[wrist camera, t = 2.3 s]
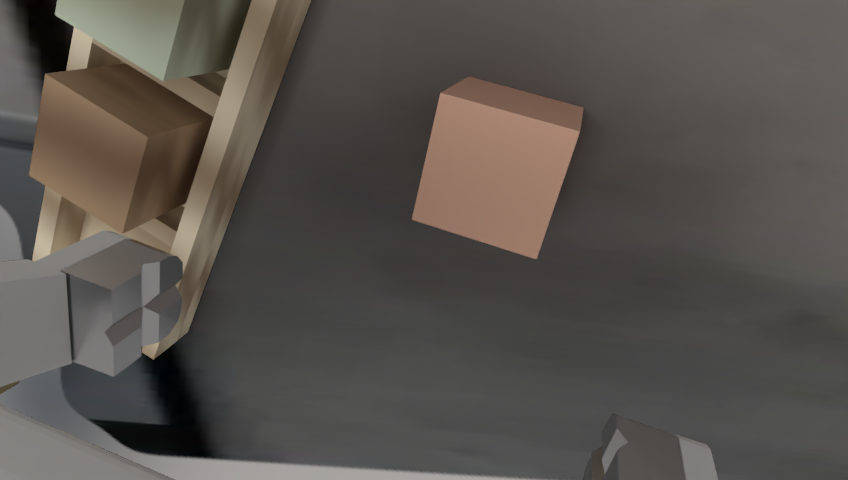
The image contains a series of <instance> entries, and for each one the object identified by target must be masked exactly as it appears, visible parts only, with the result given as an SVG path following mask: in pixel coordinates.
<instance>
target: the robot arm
mask: <svg viewBox="0 0 848 480" xmlns="http://www.w3.org/2000/svg"><path fill="white" fill-rule="evenodd" d="M182 278H183V262H182V261H181V260H180V259H179V257H178V256H176V255H173V254H171V253H168V252H166V251H163V250H160V249H158V248H155V247H153V246H150V245H147V244H145V243H142V242H140V241H137V240H135V239H131V238H129V237H126V236H124V235H121V234H118V233H115V232H112V231H101V232H99V233H96V234H94V235H92V236H90V237H88V238H85V239H83V240H81V241H79V242H77V243H74V244H72V245H70V246H68V247H65V248H63V249H61V250H59V251H57V252H54V253H52V254H50V255H48V256H46V257H43V258H41V259H39V260H37V261H31V260H28V259H23V260H13V261H3V262H0V387H2V386H5V385H8V384H11V383H14V382H17V381H20V380H23V379H26V378H29V377H32V376H35V375H38V374H42V373H44V372H48V371H51V370H54V369H57V368H60V367H63V366H66V365H69V364H71V363H72V361H73V362H75V363H78V364H81V365H84V366H86V367H89V368H92V369H94V370H97V371H100V372H102V373H105V374H108V375H110V376H113V377H114V376H116V375H117V374H118V373H119V372H121V371H122V370H123V369H125V368H126V367H127V366H129V365H130V364H131V363H133V362H134V361H135V360H137V359H138V358H139V357H141V354H142V347H143V346H147V345H151V344H155V343H159V342H160V341H161V340H162V339H164V338H165V337H166V336H167V335H169V334H170V332H171V331H172V329H173V328H174V326H175V325H176V323H177V322H178V319H179V316H180V312H181V309H182V297H181V295H180V293H179V291H178V289H177V287H176V284H177V283H178V282H179V281H180V280H181V279H182ZM0 480H174V479H172V478H170V477H167V476H165V475H163V474H161V473H158V472H156V471H153V470H151V469H149V468H146V467H144V466H142V465H140V464H137V463H135V462H133V461H130V460H128V459H126V458H123V457H121V456H119V455H117V454H114V453H112V452H110V451H107V450H105V449H103V448H100V447H98V446H95V445H93V444H91V443H89V442H86V441H84V440H82V439H79V438H77V437H75V436H73V435H70V434H68V433H66V432H63V431H61V430H58V429H56V428H54V427H52V426H49V425H47V424H45V423H42V422H40V421H38V420H35V419H33V418H31V417H28V416H26V415H24V414H22V413H19V412H17V411H14V410H12V409H10V408H8V407H5V406H3V405H1V404H0ZM582 480H718V477H717V473H716V469H715V465H714V461H713V457H712V453H711V449H710V448H709V447H708V446H707V445H706V444H703V443H700V442H697V441H694V440H691V439H688V438H685V437H682V436H679V435H676V434H674V435H673V434H670V433H667V432H665V431H662V430H659V429H656V428H653V427H650V426H647V425H645V424H642V423H639V422H636V421H633V420H630V419H627V418H624V417H622V416H619V415H616V414H612V415H611V416H610V418H609V419H608V420H607V423H606V425H605V427H604V429H603V431H602V447H601V448H598V449H596V450H594V451H593V452H592V454H591V457H590V459H589V461H588V464H587V466H586V469H585V473H584V476H583V479H582Z"/></svg>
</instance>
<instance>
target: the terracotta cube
mask: <svg viewBox="0 0 848 480" xmlns="http://www.w3.org/2000/svg"><path fill="white" fill-rule="evenodd" d="M583 109H584V107H580V106H576V105H573V104H569V103H565V102H561V101H558V100H554V99H550V98H547V97H543V96H539V95H536V94H532V93H528V92H525V91H521V90H517V89H514V88H510V87H506V86H503V85H499V84H495V83H492V82H488V81H484V80H481V79H477V78H473V77H469V76H468V77H467V78H465V79H463V80H462V81H460V82H458V83H456V84H455V85H453V86H451V87H449V88H448V89H446V90H444V91H442V92H441V93H440V97H439V101H438V105H437V110H436V114H435V119H434V123H433V128H432V132H431V136H430V141H429V145H428V150H427V154H426V159H425V163H424V168H423V172H422V176H421V181H420V185H419V190H418V194H417V199H416V203H415V207H414V212H413V216H412V220H414V221H417V222H421V223H424V224H427V225H430V226H433V227H436V228H439V229H442V230H446V231H449V232H452V233H455V234H458V235H461V236H464V237H468V238H471V239H474V240H477V241H480V242H483V243H486V244H490V245H493V246H496V247H499V248H502V249H505V250H508V251H512V252H515V253H518V254H521V255H524V256H527V257H530V258H533V259H537V256H538V254H539V251H540V248H541V245H542V242H543V239H544V236H545V233H546V230H547V227H548V224H549V221H550V218H551V215H552V212H553V210H554V207H555V204H556V201H557V198H558V195H559V192H560V189H561V186H562V183H563V180H564V177H565V174H566V171H567V168H568V166H569V163H570V160H571V157H572V154H573V151H574V148H575V145H576V142H577V139H578V136H579V133H580V129H581V122H582V116H583Z"/></svg>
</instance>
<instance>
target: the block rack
mask: <svg viewBox="0 0 848 480" xmlns="http://www.w3.org/2000/svg"><path fill="white" fill-rule="evenodd" d="M310 3H311V0H57V5H56V11H55V15H56V16H57V17H59V18H61V19H62V20H64V21H66V22H67V23H69V24H70V25H72V26H74V30H73V36H72V41H71V47H70V52H69V58H68V63H67V69H66V71H62V72H54V73H46V74H45V79H44V85H43V91H42V97H41V103H40V110H39V116H38V122H37V128H36V134H35V140H34V146H33V153H32V159H31V165H30V171H29V176H31V177H32V178H34V179H35V180H37V181H39V182H40V183H42V184H43V185H45V191H44V197H43V202H42V208H41V213H40V219H39V224H38V230H37V235H36V241H35V247H34V252H33V258H32V261H37V260H39V259H41V258H43V257H46V256H48V255H50V254H52V253H54V252H57V251H59V250H61V249H63V248H65V247H68V246H70V245H72V244H74V243H77V242H79V241H81V240H83V239H85V238H88V237H90V236H92V235H94V234H96V233H99V232H101V231H112V232H115V233H118V234H121V235H124V236H126V237H129V238H131V239H135V240H137V241H140V242H142V243H145V244H147V245H150V246H153V247H155V248H158V249H160V250H163V251H166V252H168V253H171V254H173V255H176V256H178V257H179V259H180V260H181V261H182V262H183V278H182V279H181V280H180V281H179V282H178V283H177V284H176V287H177V289H178V291H179V293H180V295H181V297H182V309H181V312H180V316H179V319H178V322H177V323H176V325H175V326H174V328H173V329H172V331H171V332H170V334H169V335H167V336H166V337H165V338H164V339H162V340H161V341H160V342H159V343H155V344H151V345H147V346H143V347H142V353H144V354H146V355H147V356H149V357H150V358H152V359H153V360H154V359H155V358H156V357H157V356H159V355H160V354H161V353H162V352H164V351H165V350H166V349H167V348H169V347H170V346H171V345H172V344H174V343H175V342H176V341H177V340H179V339H180V338H181V337H182V336H184V335H185V334H186V333H187V332H188V331H189V328H190V325H191V322H192V320H193V317H194V314H195V312H196V309H197V306H198V304H199V301H200V298H201V296H202V293H203V290H204V288H205V285H206V282H207V280H208V277H209V274H210V271H211V269H212V266H213V263H214V261H215V258H216V255H217V253H218V250H219V247H220V245H221V242H222V239H223V237H224V234H225V231H226V228H227V226H228V223H229V220H230V218H231V215H232V212H233V210H234V207H235V204H236V202H237V199H238V196H239V194H240V191H241V188H242V185H243V183H244V180H245V177H246V175H247V172H248V169H249V167H250V164H251V161H252V159H253V156H254V153H255V151H256V148H257V145H258V143H259V140H260V137H261V134H262V132H263V129H264V126H265V124H266V121H267V118H268V116H269V113H270V110H271V108H272V105H273V102H274V100H275V97H276V94H277V91H278V89H279V86H280V83H281V81H282V78H283V75H284V73H285V70H286V67H287V65H288V62H289V59H290V57H291V54H292V51H293V48H294V46H295V43H296V40H297V38H298V35H299V32H300V30H301V27H302V24H303V22H304V19H305V16H306V14H307V11H308V8H309V6H310Z"/></svg>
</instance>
